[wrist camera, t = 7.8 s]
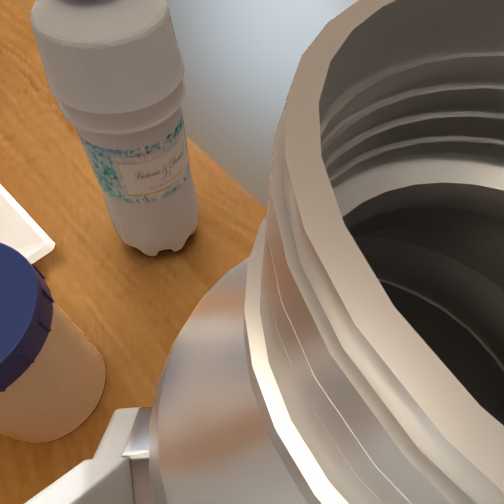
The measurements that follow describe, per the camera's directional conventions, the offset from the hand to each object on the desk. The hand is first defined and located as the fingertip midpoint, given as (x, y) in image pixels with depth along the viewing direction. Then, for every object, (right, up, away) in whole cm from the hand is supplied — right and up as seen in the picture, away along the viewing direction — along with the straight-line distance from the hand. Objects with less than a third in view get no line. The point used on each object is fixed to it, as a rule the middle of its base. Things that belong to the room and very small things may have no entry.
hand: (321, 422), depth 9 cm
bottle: (-9, +6, +23) cm, 25 cm away
